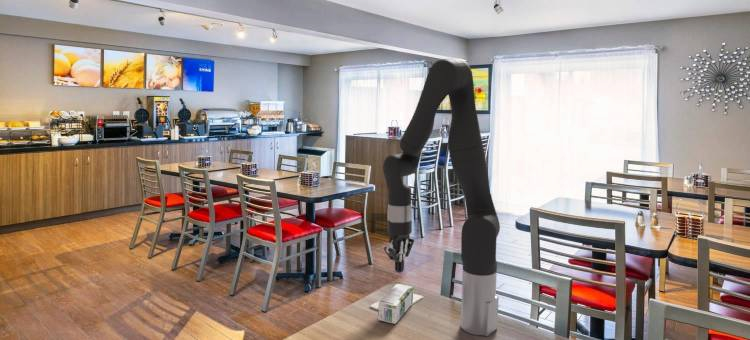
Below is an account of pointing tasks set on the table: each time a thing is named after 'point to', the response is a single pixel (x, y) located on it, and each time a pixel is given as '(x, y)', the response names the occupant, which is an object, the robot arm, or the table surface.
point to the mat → (415, 299)
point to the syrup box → (395, 303)
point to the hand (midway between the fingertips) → (399, 271)
